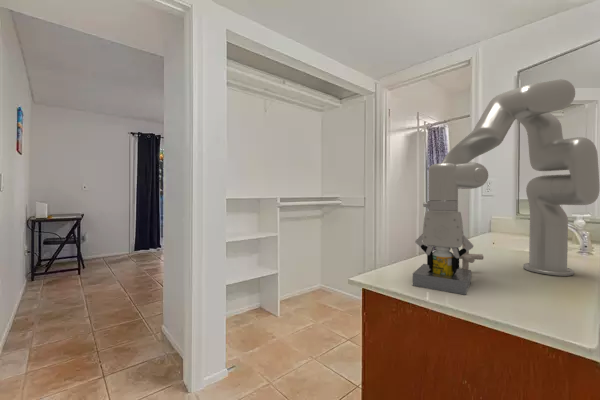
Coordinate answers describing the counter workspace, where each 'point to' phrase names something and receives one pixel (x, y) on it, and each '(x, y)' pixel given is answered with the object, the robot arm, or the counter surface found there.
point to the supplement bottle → (443, 261)
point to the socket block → (442, 280)
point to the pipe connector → (469, 258)
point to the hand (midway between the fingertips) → (442, 268)
